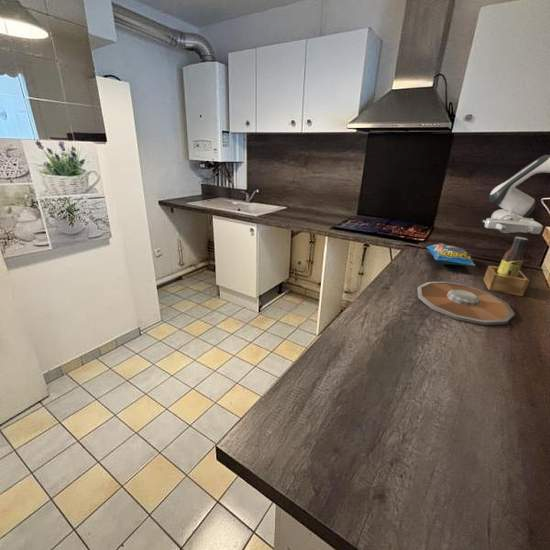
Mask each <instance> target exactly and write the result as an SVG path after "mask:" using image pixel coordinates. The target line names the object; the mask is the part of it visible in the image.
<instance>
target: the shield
mask: <svg viewBox="0 0 550 550" xmlns="http://www.w3.org/2000/svg"><path fill="white" fill-rule="evenodd" d="M416 291H417V298H418V300H420V301H421V302H422V303H423V304H424V305H426V306H427V307H428V308H429V309H430V310H432V311H434V312H437V313H438V314H442V315H444V316H446V317H448V318H450V319H453V320H456V321H459V322H464V323H470V324H474V325H479V326H485V327H486V326H502V325H507V324H508V323H509V322H510V321H511V320H512V319H513V318H514V317H515V315H516V313H515V312H514V310H513V309H512V307H511V306H510V305H509V302H506V301H504V300H503V299H501V298H500V297H498V296H496V295H495V294H493V293H491V292H488V291H485V290H483V289H480V288H477V287H474V286H470V285H468V284H462V283H456V282H452V281H451V282H450V281H427V282H425V283H423V284H421V285H419V286H417V290H416Z"/></svg>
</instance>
